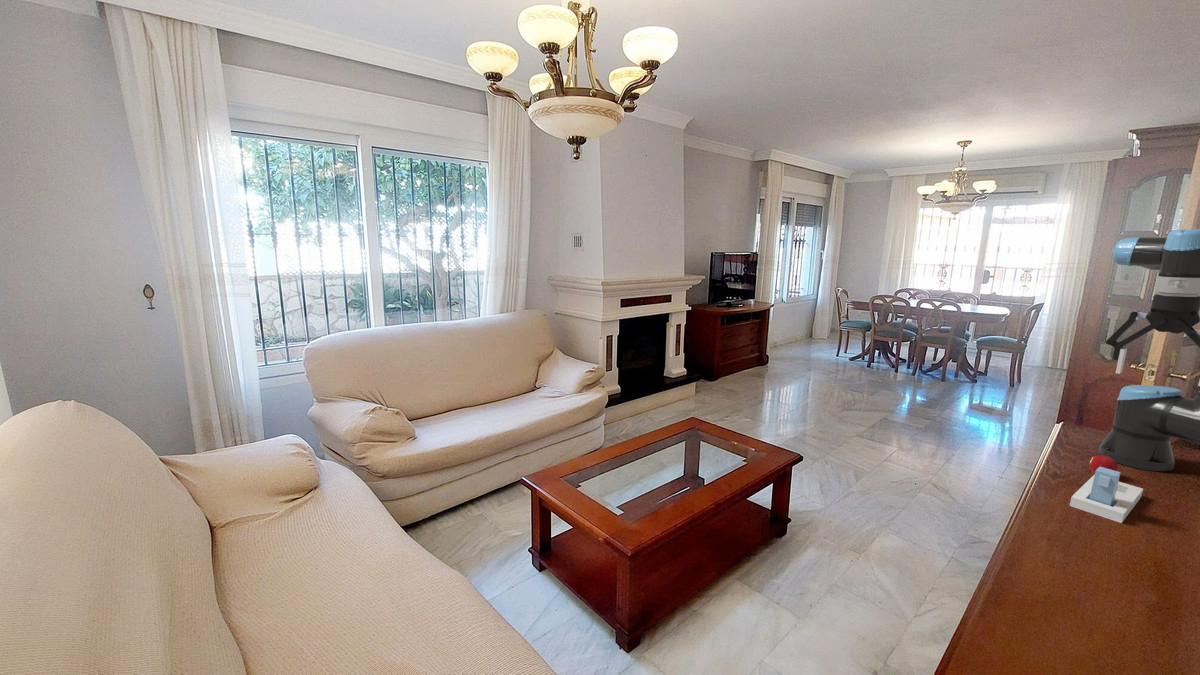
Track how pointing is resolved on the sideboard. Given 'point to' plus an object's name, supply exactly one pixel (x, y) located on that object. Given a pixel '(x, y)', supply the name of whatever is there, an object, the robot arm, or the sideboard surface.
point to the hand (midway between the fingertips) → (1158, 378)
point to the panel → (1119, 511)
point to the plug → (1105, 486)
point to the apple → (1102, 463)
